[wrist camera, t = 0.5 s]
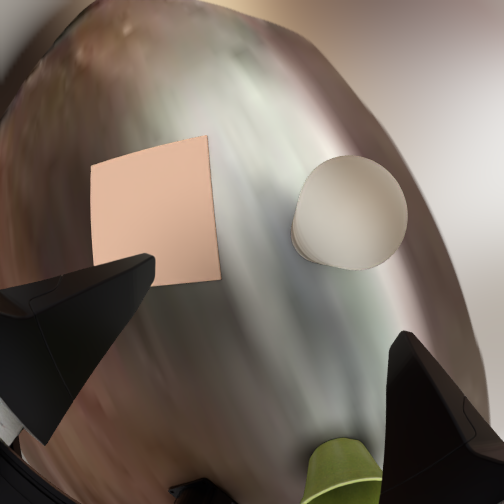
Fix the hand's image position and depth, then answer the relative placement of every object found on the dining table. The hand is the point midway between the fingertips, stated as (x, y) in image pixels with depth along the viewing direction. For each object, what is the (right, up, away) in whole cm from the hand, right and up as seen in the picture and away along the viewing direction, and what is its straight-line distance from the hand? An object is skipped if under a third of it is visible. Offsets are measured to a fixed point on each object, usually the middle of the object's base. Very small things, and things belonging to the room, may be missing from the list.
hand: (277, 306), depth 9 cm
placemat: (-11, +5, +16) cm, 20 cm away
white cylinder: (+5, +3, +14) cm, 15 cm away
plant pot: (+8, -20, +14) cm, 25 cm away
